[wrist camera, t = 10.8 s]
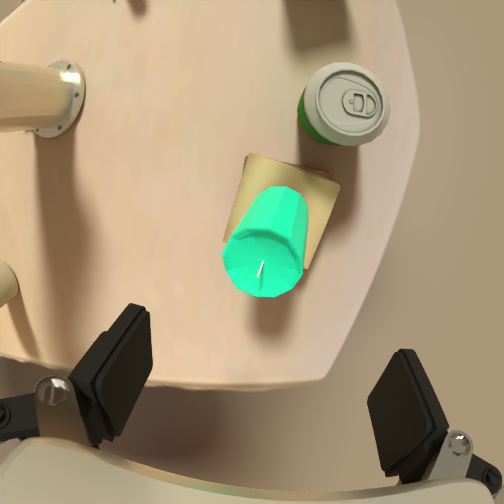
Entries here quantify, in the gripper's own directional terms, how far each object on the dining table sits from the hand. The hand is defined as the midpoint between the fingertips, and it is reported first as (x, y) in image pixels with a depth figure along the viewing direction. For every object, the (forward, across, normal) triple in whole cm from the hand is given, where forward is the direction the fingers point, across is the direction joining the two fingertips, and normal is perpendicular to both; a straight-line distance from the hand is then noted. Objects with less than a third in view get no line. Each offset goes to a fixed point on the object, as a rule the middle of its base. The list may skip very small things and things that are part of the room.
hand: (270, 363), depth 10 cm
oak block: (+25, 0, 0) cm, 25 cm away
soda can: (+28, -4, -12) cm, 30 cm away
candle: (+22, 0, 0) cm, 22 cm away
